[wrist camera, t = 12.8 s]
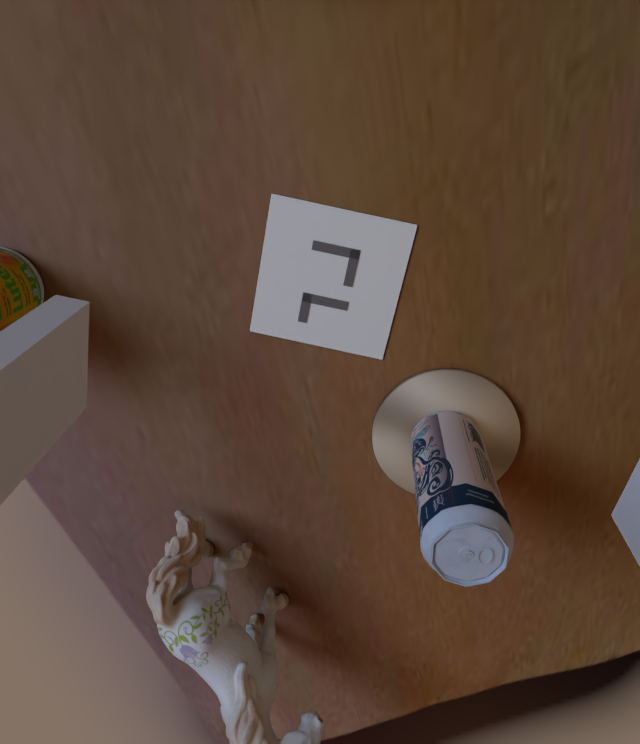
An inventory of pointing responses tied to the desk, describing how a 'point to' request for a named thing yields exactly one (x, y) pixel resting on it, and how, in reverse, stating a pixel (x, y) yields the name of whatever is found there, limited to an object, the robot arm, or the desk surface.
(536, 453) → the desk surface
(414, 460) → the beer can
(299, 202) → the tile
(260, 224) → the desk surface
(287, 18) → the desk surface
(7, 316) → the supplement bottle
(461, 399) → the cork coaster
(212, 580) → the unicorn figurine
